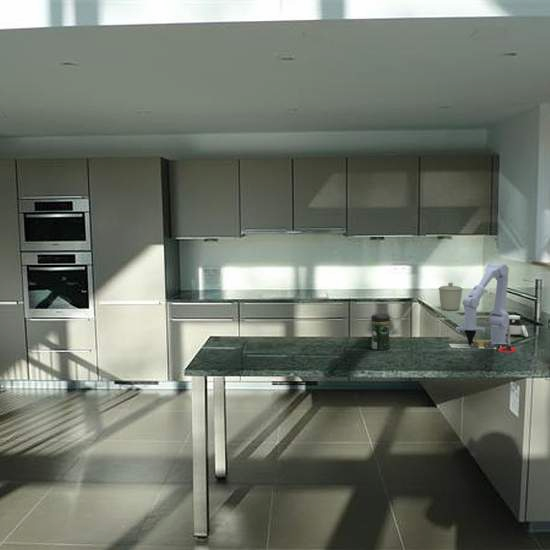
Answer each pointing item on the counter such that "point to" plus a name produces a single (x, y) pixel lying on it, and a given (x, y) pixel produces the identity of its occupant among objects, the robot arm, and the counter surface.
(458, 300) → the canister
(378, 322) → the coffee jar
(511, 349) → the tow hook
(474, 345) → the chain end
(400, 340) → the counter surface
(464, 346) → the mat
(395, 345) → the counter surface
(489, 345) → the chain end
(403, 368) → the counter surface
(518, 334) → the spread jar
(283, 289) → the counter surface
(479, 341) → the link
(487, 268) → the robot arm
